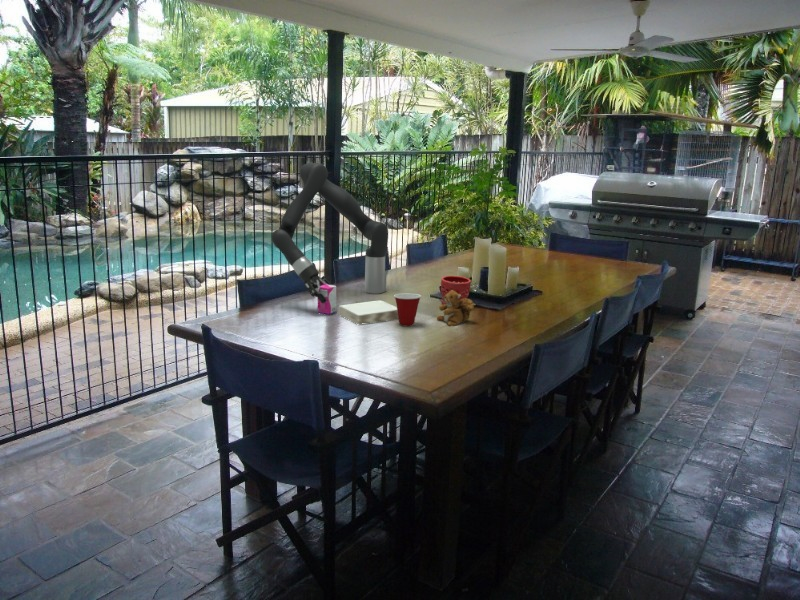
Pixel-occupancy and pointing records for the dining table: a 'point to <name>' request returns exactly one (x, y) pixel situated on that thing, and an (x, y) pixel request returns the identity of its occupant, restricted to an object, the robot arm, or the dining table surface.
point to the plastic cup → (407, 307)
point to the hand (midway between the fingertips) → (329, 299)
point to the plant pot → (455, 286)
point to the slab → (369, 312)
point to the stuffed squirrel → (455, 309)
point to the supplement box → (327, 300)
